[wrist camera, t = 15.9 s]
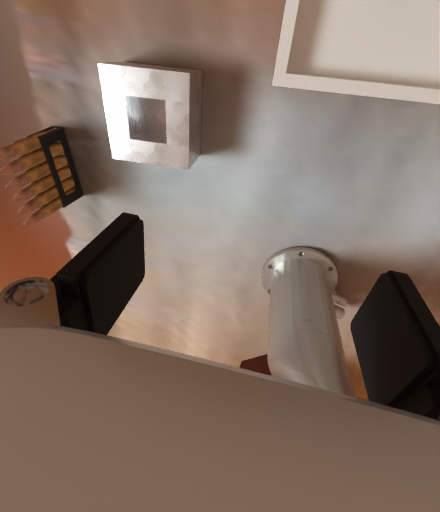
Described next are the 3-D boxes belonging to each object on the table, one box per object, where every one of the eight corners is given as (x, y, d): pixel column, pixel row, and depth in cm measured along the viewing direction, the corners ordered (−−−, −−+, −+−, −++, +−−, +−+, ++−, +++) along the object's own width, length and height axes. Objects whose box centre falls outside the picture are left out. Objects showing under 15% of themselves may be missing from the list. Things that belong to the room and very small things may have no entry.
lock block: (202, 70, 33) (189, 73, 28) (199, 155, 39) (188, 169, 34) (123, 61, 34) (97, 62, 29) (132, 146, 40) (112, 158, 35)
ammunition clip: (83, 195, 46) (33, 232, 37) (73, 194, 46) (20, 231, 37) (62, 126, 40) (-6, 149, 30) (51, 126, 40) (-20, 148, 31)
